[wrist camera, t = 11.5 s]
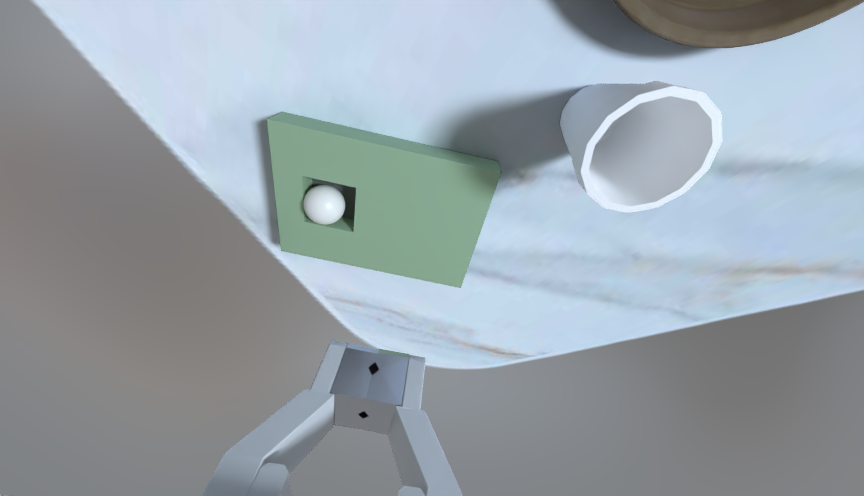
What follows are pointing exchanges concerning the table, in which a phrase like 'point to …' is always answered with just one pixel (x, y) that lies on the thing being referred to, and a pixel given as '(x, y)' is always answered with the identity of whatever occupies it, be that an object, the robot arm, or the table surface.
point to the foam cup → (640, 142)
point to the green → (380, 199)
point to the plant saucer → (730, 19)
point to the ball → (324, 204)
